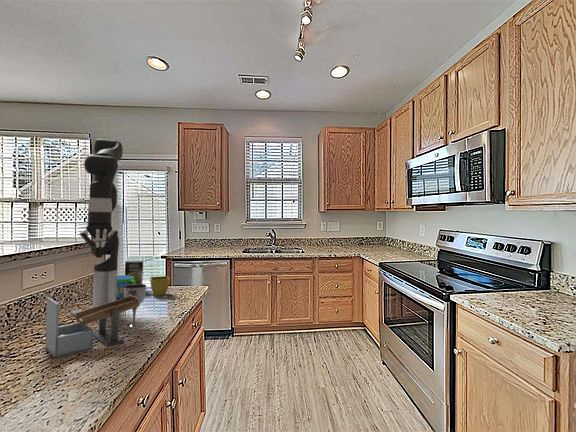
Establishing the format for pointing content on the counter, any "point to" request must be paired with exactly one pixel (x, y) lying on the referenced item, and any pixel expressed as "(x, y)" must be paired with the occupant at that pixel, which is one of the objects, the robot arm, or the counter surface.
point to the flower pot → (159, 285)
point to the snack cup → (123, 284)
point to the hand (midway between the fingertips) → (98, 257)
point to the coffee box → (134, 270)
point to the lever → (105, 310)
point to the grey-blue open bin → (75, 334)
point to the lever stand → (106, 335)
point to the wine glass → (138, 292)
